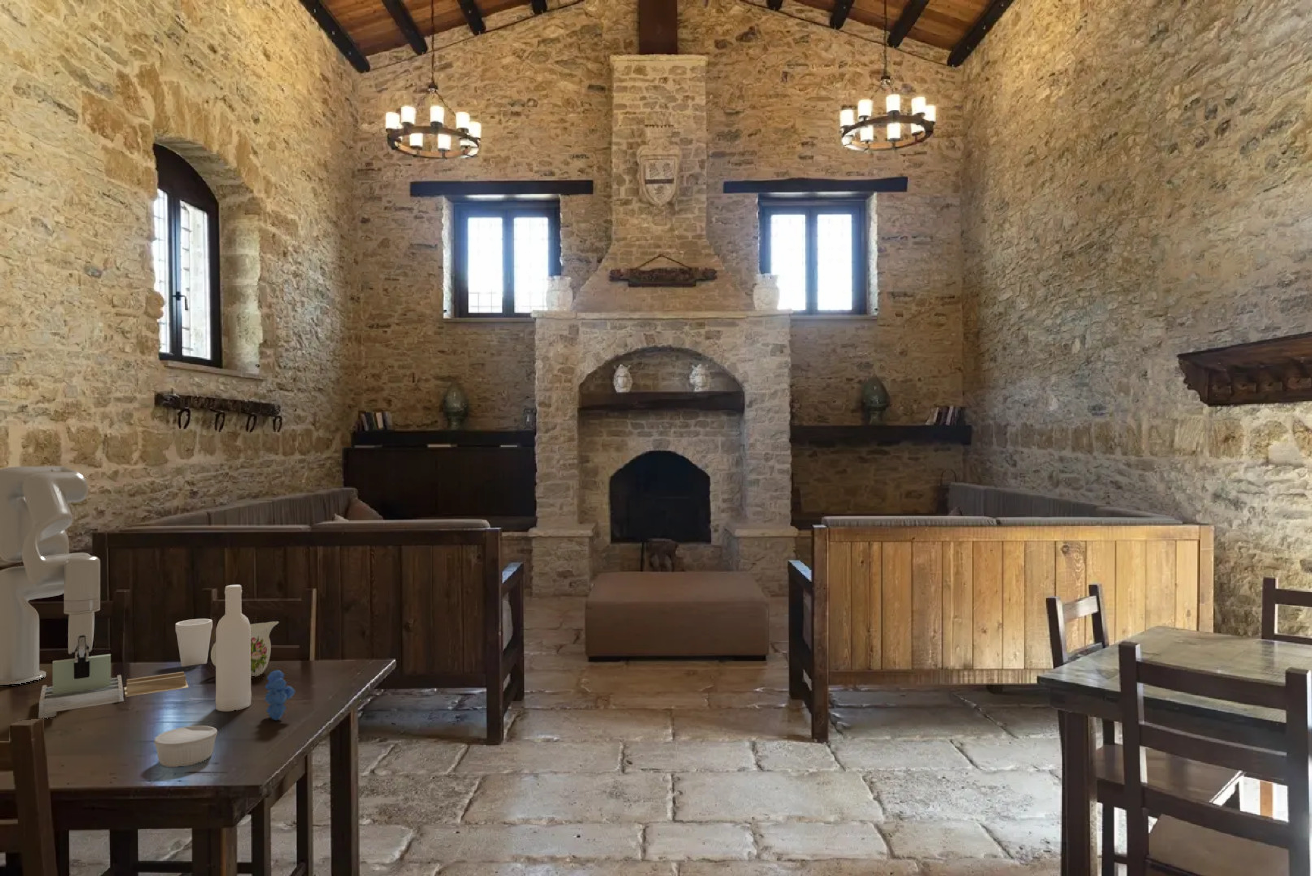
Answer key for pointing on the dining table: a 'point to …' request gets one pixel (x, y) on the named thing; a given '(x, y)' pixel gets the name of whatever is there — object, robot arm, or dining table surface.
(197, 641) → the foam cup
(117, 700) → the rack
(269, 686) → the grapes
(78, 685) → the sage green plank
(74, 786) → the dining table surface
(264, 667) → the pitcher
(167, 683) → the stand
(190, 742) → the ramekin
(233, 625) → the bottle
